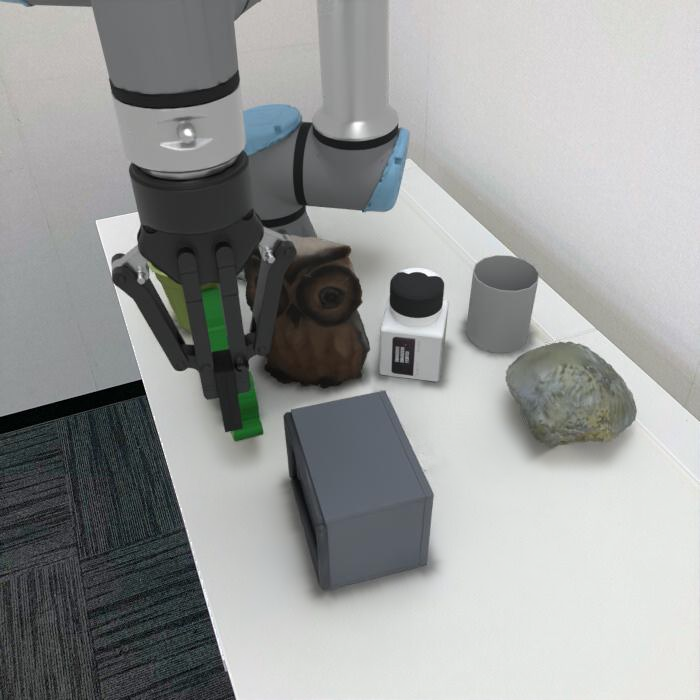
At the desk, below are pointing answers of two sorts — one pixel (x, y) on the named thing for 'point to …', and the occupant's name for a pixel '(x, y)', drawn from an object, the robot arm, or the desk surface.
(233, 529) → the desk surface
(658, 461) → the desk surface
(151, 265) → the plant pot
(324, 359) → the owl
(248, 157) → the robot arm
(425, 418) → the desk surface
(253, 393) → the sign
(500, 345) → the cup
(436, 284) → the container
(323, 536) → the basket
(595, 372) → the decorative stone
